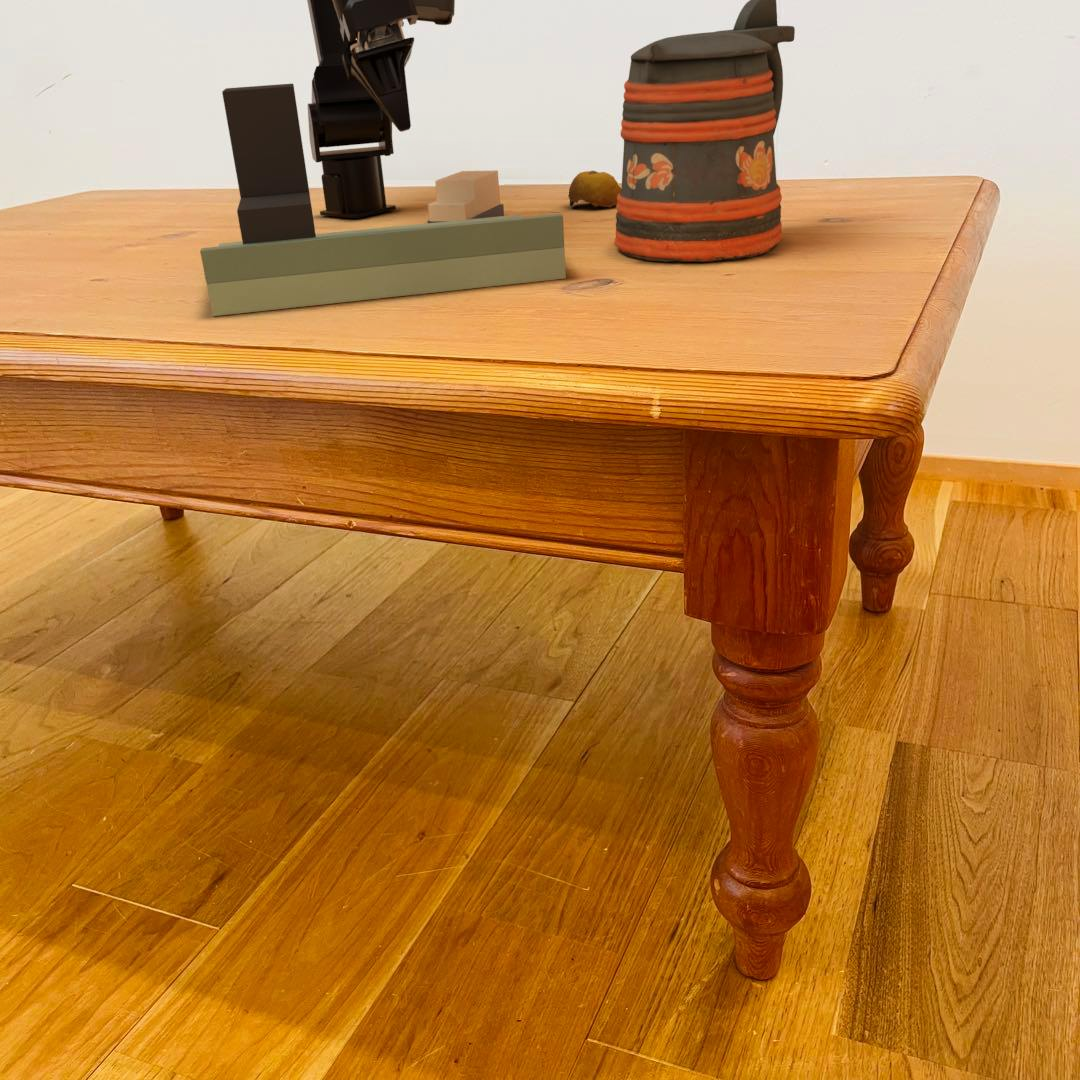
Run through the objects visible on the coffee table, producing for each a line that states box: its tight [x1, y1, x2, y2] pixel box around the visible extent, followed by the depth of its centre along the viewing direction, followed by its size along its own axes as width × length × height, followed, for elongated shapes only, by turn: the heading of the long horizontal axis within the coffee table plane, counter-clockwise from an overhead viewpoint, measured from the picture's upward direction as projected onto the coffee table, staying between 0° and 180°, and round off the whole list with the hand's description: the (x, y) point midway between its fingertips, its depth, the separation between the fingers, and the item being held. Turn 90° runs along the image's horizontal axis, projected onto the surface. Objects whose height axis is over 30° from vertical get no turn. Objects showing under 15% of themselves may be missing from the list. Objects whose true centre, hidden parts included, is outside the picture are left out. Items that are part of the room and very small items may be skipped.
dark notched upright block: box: [221, 83, 317, 244], centre depth 86 cm, size 12×6×13 cm, turn 12°
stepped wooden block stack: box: [426, 170, 505, 223], centre depth 111 cm, size 10×4×5 cm, turn 161°
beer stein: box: [614, 0, 796, 263], centre depth 93 cm, size 19×15×20 cm
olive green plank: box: [199, 213, 567, 317], centre depth 92 cm, size 18×28×5 cm, turn 102°
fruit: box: [567, 170, 622, 208], centre depth 119 cm, size 8×8×4 cm
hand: (405, 130), depth 103 cm, fingers closed
